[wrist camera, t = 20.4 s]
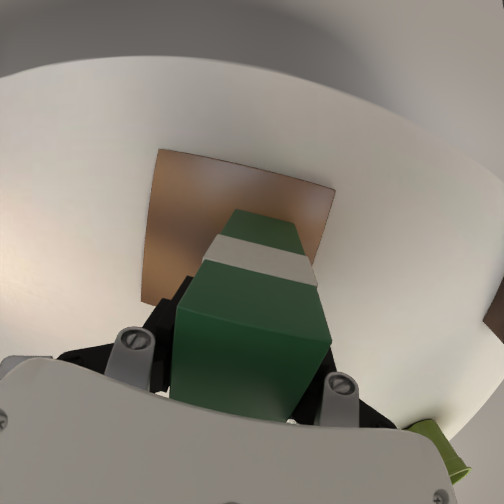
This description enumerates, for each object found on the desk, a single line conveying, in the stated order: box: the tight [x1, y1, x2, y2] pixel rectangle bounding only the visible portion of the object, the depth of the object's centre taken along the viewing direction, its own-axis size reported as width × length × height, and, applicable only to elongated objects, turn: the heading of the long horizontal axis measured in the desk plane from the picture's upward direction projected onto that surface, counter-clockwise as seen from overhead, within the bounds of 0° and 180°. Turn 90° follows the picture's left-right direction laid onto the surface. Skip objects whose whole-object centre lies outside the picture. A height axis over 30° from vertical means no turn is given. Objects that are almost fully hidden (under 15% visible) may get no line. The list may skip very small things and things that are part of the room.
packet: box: [169, 209, 332, 423], centre depth 13 cm, size 9×7×12 cm
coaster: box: [141, 149, 336, 306], centre depth 19 cm, size 12×12×1 cm
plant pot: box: [406, 420, 472, 485], centre depth 22 cm, size 12×12×11 cm
